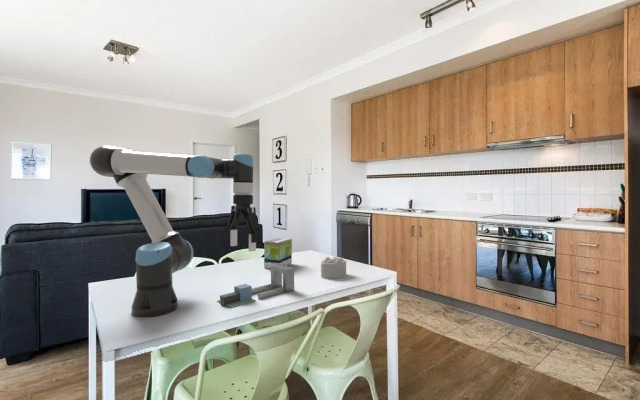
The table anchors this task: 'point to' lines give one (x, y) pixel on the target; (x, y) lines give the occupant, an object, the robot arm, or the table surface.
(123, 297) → the table surface
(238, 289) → the plug
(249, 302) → the mat
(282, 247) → the tea box
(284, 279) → the grey stand
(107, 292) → the table surface
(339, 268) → the lumpy-topped squat cylinder
